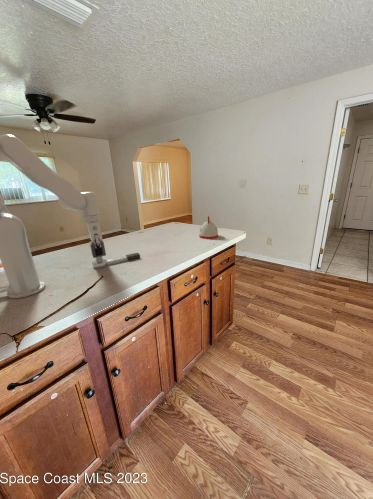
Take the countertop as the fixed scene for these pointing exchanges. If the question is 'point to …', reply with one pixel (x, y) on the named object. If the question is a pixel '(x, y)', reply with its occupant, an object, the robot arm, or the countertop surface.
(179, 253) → the countertop surface
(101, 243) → the socket
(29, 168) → the robot arm
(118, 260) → the ratchet
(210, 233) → the grey bell
